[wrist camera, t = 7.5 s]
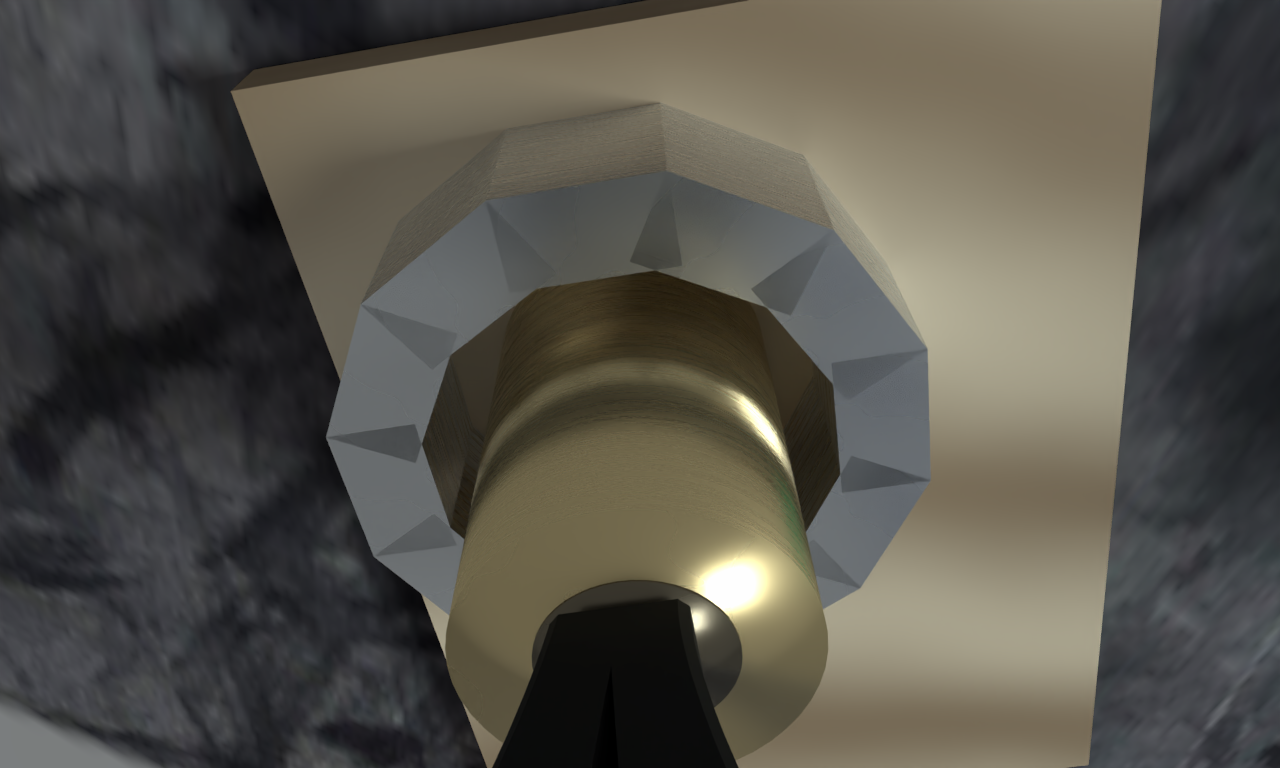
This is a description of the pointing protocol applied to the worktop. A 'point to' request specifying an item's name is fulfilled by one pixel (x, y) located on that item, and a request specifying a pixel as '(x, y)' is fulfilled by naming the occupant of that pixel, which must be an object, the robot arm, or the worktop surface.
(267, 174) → the jig plate
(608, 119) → the bore collar
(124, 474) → the worktop surface
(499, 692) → the brass sleeve
